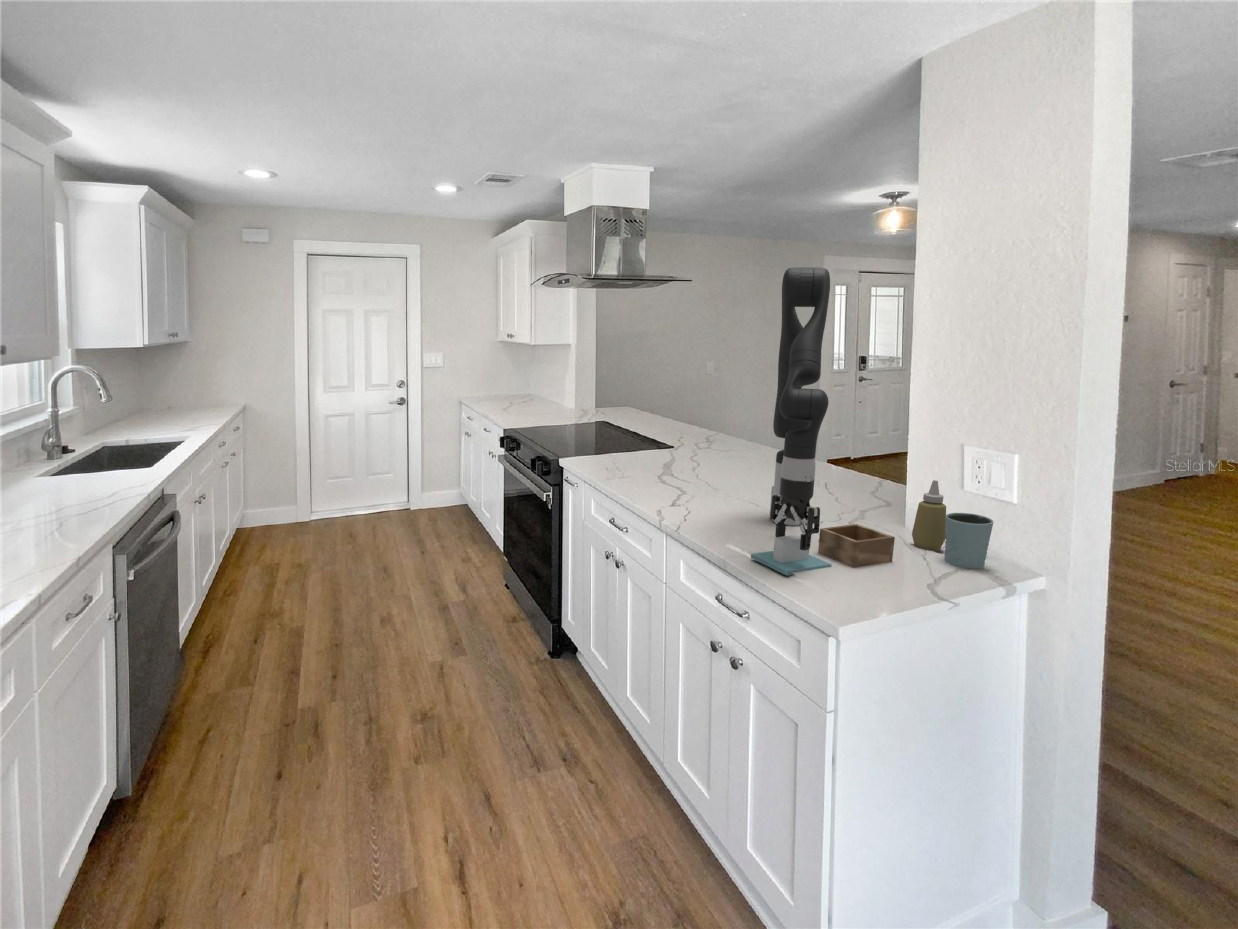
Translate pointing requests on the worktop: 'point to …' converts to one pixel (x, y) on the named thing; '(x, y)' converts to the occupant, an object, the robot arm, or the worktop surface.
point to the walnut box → (856, 545)
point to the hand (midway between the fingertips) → (792, 544)
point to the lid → (789, 556)
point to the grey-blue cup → (967, 539)
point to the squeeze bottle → (930, 520)
